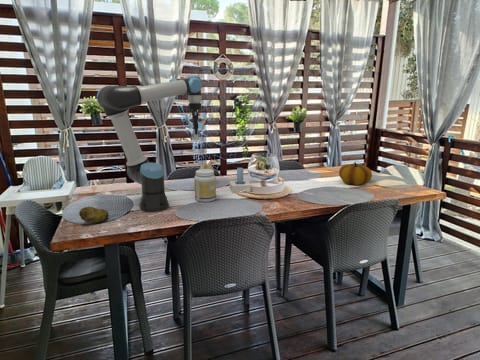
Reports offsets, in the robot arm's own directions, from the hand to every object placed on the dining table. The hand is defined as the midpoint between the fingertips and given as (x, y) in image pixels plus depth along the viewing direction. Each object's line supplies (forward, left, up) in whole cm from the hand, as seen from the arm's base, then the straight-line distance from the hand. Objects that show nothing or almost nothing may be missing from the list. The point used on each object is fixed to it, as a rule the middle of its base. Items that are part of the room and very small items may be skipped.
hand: (195, 138), depth 200 cm
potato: (-47, +50, -33) cm, 76 cm away
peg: (-4, -27, -33) cm, 43 cm away
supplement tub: (-20, -4, -33) cm, 39 cm away
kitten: (+14, -7, -33) cm, 36 cm away
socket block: (-4, -27, -33) cm, 43 cm away
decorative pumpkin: (+1, -108, -33) cm, 113 cm away
